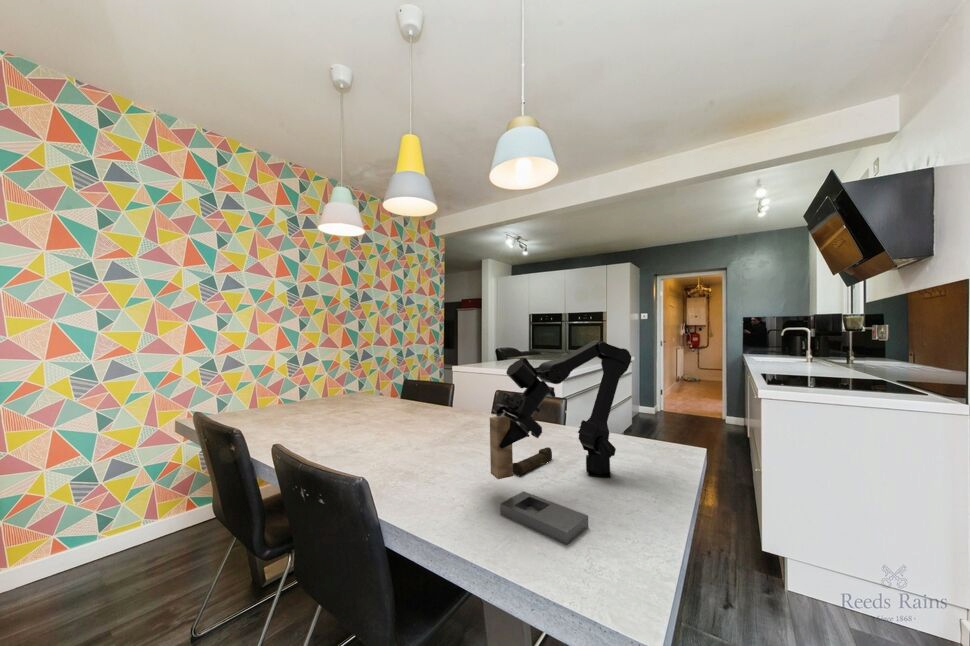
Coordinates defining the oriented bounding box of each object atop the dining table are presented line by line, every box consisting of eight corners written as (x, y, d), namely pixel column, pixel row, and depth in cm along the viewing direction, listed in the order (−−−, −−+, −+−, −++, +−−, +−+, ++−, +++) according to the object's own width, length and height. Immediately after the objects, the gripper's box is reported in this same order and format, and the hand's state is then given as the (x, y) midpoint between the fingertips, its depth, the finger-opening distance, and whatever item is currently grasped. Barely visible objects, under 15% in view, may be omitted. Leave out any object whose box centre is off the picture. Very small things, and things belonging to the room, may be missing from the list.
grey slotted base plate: (500, 514, 84) (500, 503, 84) (523, 501, 91) (523, 491, 91) (567, 545, 72) (566, 532, 72) (588, 527, 78) (588, 515, 78)
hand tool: (521, 478, 105) (521, 462, 106) (511, 474, 108) (511, 459, 108) (558, 462, 118) (558, 448, 119) (548, 458, 121) (548, 445, 121)
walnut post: (505, 470, 97) (504, 415, 97) (512, 476, 93) (511, 418, 93) (490, 473, 95) (489, 417, 96) (497, 479, 91) (496, 420, 92)
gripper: (497, 376, 105) (463, 418, 100) (530, 384, 88) (491, 435, 83) (521, 400, 108) (489, 442, 103) (557, 412, 91) (521, 463, 86)
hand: (496, 444), depth 94 cm, fingers closed on walnut post, 4 cm apart
